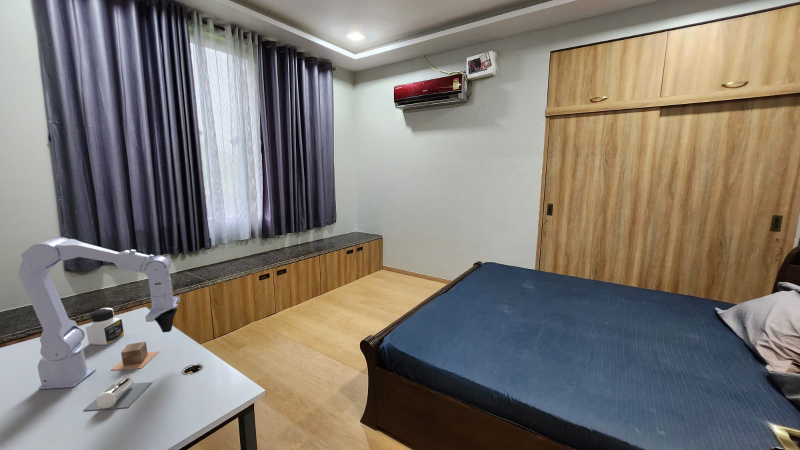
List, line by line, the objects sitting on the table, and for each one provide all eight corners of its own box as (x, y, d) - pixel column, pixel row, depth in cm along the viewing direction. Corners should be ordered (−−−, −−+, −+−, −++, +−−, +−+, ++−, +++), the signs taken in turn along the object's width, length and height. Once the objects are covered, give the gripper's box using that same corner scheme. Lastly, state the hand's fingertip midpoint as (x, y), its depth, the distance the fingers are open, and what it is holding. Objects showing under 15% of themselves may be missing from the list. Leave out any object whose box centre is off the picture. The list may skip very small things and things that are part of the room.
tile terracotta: (110, 370, 99) (110, 369, 99) (131, 353, 108) (131, 353, 108) (141, 368, 100) (141, 367, 100) (159, 352, 109) (159, 351, 109)
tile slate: (83, 410, 83) (83, 410, 83) (112, 385, 93) (112, 384, 93) (127, 407, 84) (127, 407, 84) (152, 382, 94) (152, 382, 94)
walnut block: (123, 366, 101) (121, 352, 100) (129, 357, 106) (127, 344, 105) (142, 362, 103) (140, 349, 102) (147, 354, 107) (145, 341, 107)
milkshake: (133, 393, 92) (107, 417, 82) (115, 385, 91) (87, 408, 81) (141, 380, 92) (116, 402, 82) (124, 372, 91) (96, 394, 81)
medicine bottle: (107, 345, 113) (102, 314, 111) (88, 344, 113) (82, 314, 111) (124, 334, 120) (119, 306, 118) (106, 334, 120) (101, 305, 118)
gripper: (160, 302, 94) (166, 342, 97) (187, 284, 109) (191, 320, 111) (135, 303, 94) (142, 343, 96) (165, 285, 108) (170, 320, 110)
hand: (167, 331), depth 104 cm, fingers closed
